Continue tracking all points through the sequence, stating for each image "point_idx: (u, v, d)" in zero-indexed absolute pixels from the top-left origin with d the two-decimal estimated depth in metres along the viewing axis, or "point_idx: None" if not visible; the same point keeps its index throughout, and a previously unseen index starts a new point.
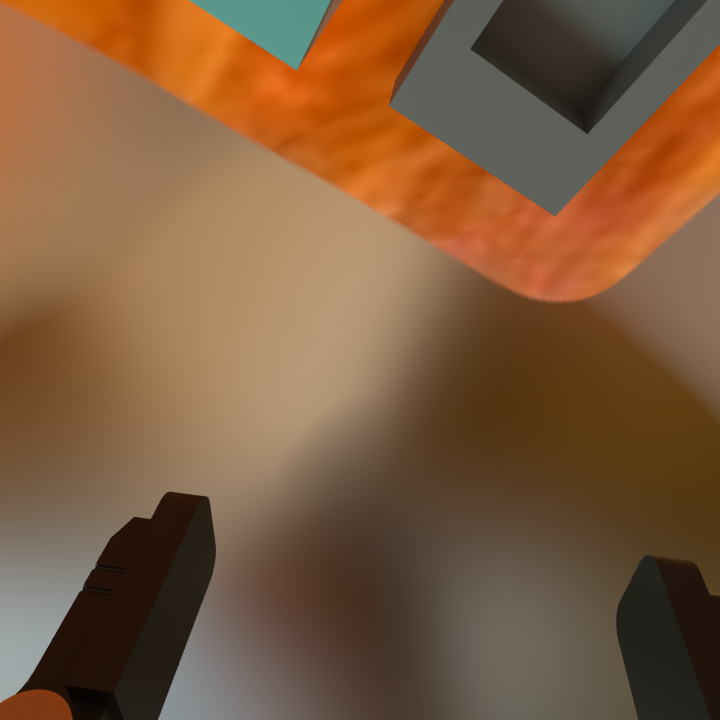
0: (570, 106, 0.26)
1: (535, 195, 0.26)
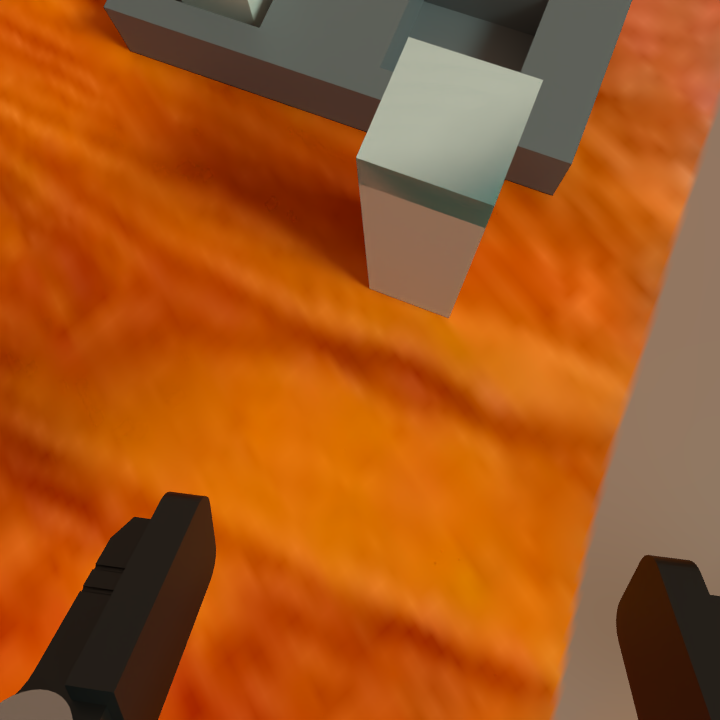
0: None
1: (619, 16, 0.27)
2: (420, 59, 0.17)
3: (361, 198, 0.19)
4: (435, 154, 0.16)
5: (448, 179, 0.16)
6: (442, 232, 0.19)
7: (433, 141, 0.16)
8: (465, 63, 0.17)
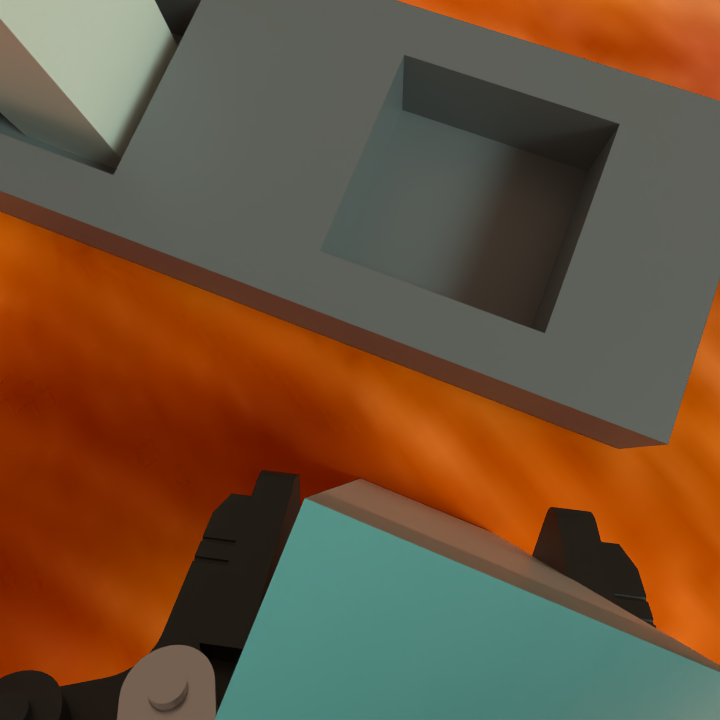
0: (583, 184, 0.18)
1: None
2: (340, 587, 0.05)
3: None
4: None
5: None
6: None
7: None
8: (490, 609, 0.05)
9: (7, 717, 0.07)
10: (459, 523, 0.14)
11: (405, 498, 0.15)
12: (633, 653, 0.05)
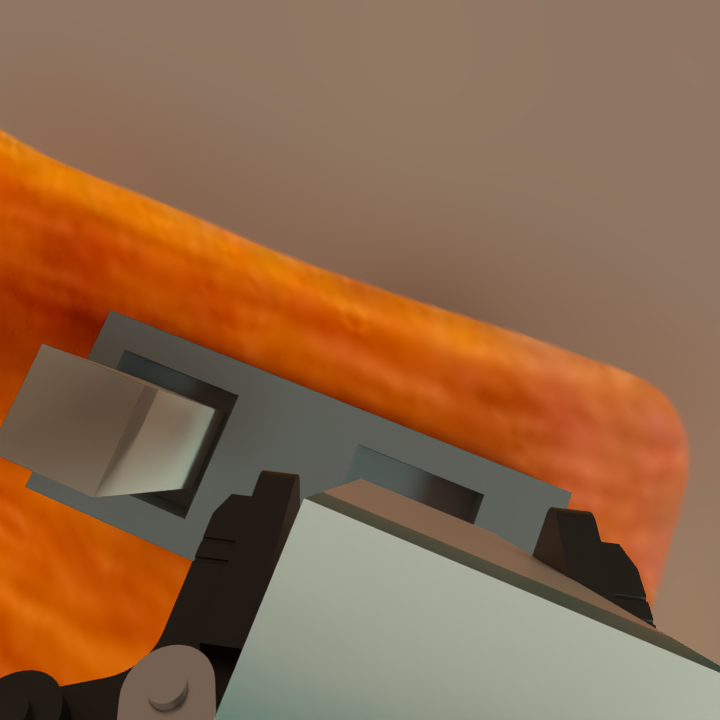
0: (472, 502, 0.28)
1: None
2: (340, 587, 0.05)
3: None
4: None
5: None
6: None
7: None
8: (489, 609, 0.05)
9: (7, 717, 0.07)
10: (459, 523, 0.13)
11: (405, 498, 0.15)
12: (632, 653, 0.05)
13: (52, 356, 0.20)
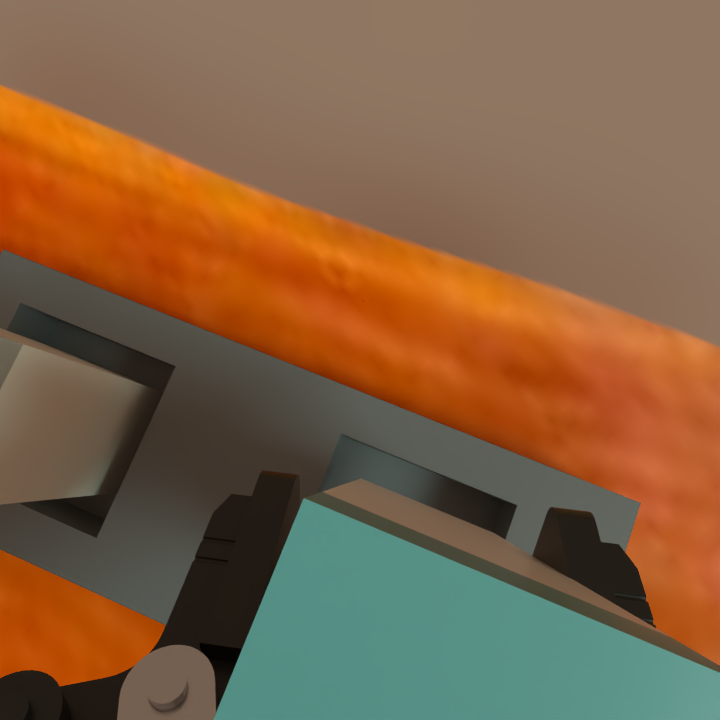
0: (497, 514, 0.21)
1: (617, 542, 0.18)
2: (340, 586, 0.05)
3: None
4: None
5: None
6: None
7: None
8: (490, 609, 0.05)
9: (7, 718, 0.07)
10: (459, 523, 0.13)
11: (405, 498, 0.15)
12: (633, 653, 0.05)
13: None
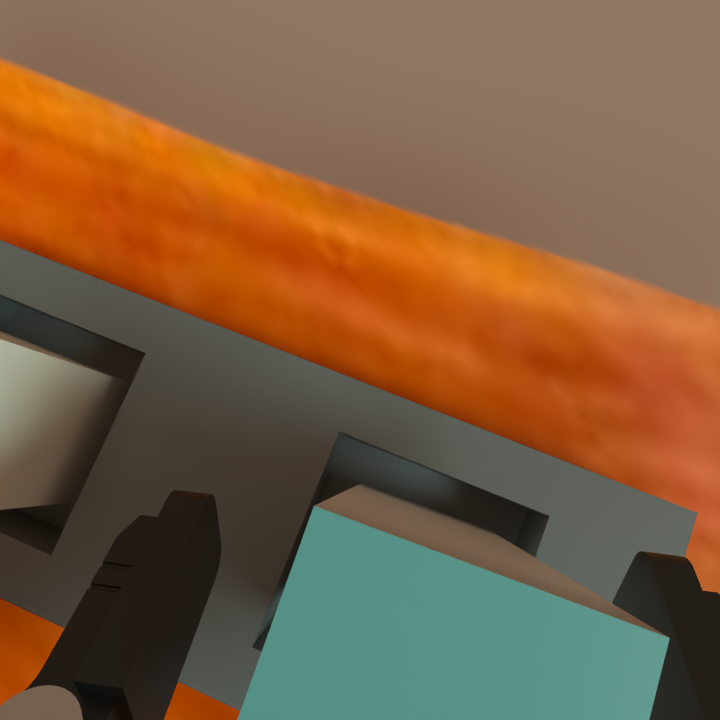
0: (522, 525, 0.18)
1: None
2: (345, 573, 0.06)
3: None
4: None
5: None
6: None
7: None
8: (461, 585, 0.06)
9: None
10: (452, 520, 0.15)
11: (403, 499, 0.17)
12: (572, 615, 0.06)
13: None
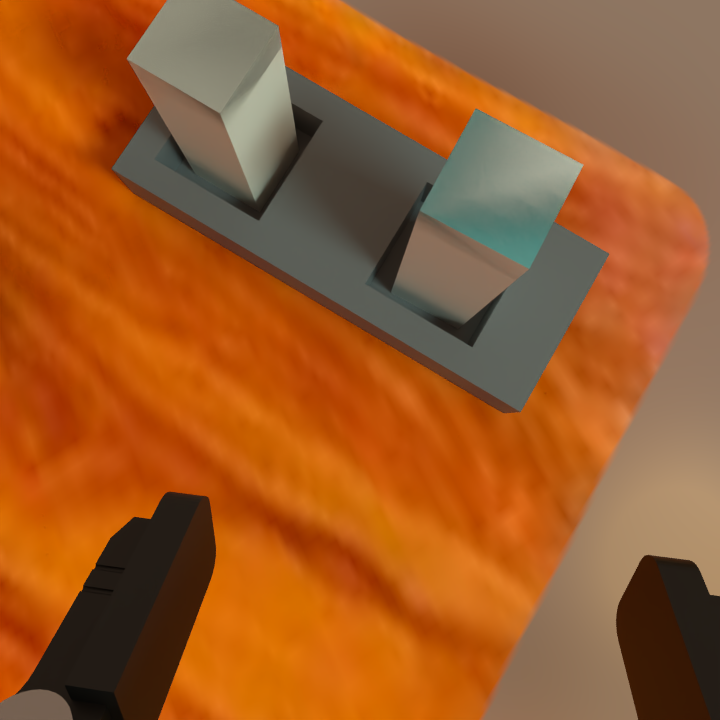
0: None
1: (590, 274, 0.29)
2: (483, 130, 0.19)
3: (412, 235, 0.22)
4: (485, 218, 0.19)
5: (494, 240, 0.19)
6: (477, 273, 0.22)
7: (486, 205, 0.19)
8: (520, 140, 0.19)
9: None
10: None
11: None
12: (554, 153, 0.19)
13: None
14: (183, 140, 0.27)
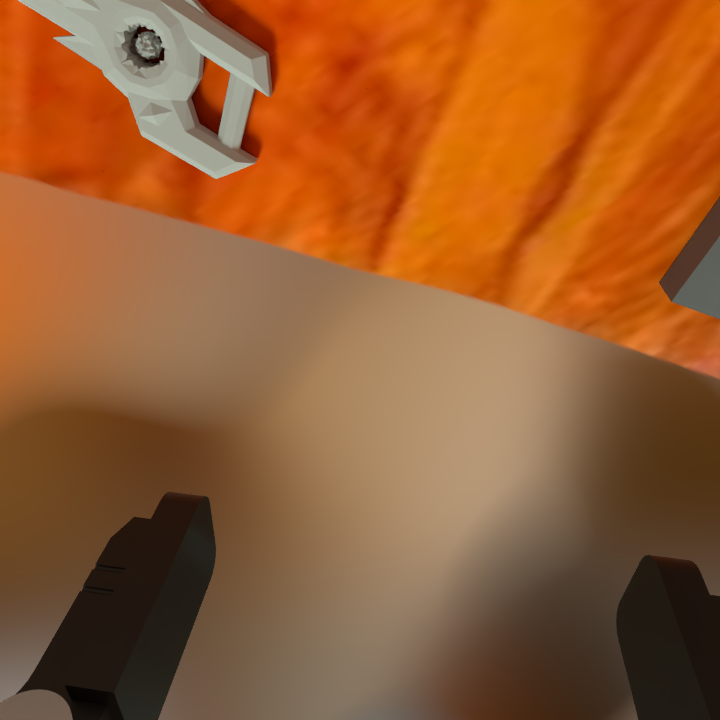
0: None
1: None
2: None
3: None
4: None
5: None
6: None
7: None
8: None
9: None
10: None
11: None
12: None
13: None
14: None
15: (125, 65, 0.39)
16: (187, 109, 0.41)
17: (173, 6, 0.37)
